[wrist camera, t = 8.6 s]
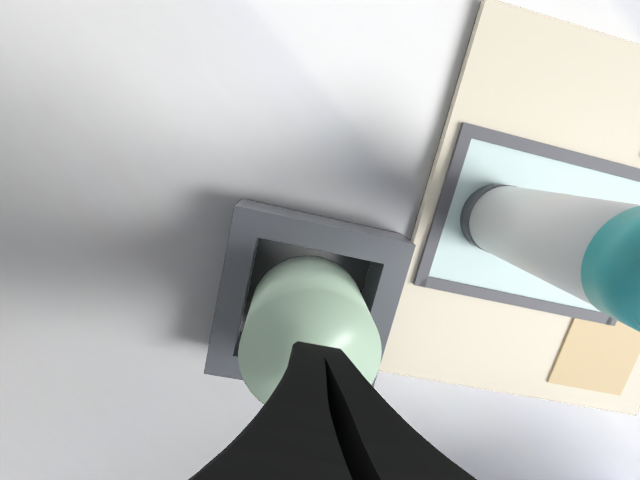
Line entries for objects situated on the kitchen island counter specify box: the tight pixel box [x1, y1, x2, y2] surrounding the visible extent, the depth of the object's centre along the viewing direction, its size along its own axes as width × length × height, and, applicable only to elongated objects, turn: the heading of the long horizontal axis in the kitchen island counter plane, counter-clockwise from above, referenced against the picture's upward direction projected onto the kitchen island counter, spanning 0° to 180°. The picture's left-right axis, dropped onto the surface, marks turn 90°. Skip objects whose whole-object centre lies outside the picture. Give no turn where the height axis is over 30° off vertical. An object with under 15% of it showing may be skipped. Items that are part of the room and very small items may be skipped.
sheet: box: [378, 0, 640, 416], centre depth 16 cm, size 16×14×1 cm
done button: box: [238, 256, 382, 405], centre depth 13 cm, size 4×4×4 cm
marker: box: [460, 184, 640, 332], centre depth 12 cm, size 3×3×8 cm
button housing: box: [204, 199, 416, 387], centre depth 15 cm, size 7×7×2 cm
